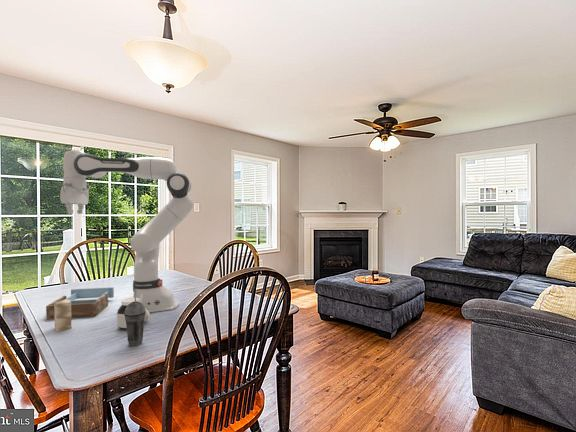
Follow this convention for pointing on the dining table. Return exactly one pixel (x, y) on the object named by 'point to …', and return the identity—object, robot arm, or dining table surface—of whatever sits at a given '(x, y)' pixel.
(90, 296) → the tray
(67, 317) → the beech block
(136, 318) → the beverage cup
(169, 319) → the dining table surface
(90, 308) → the caddy
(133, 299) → the spread jar
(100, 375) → the dining table surface
